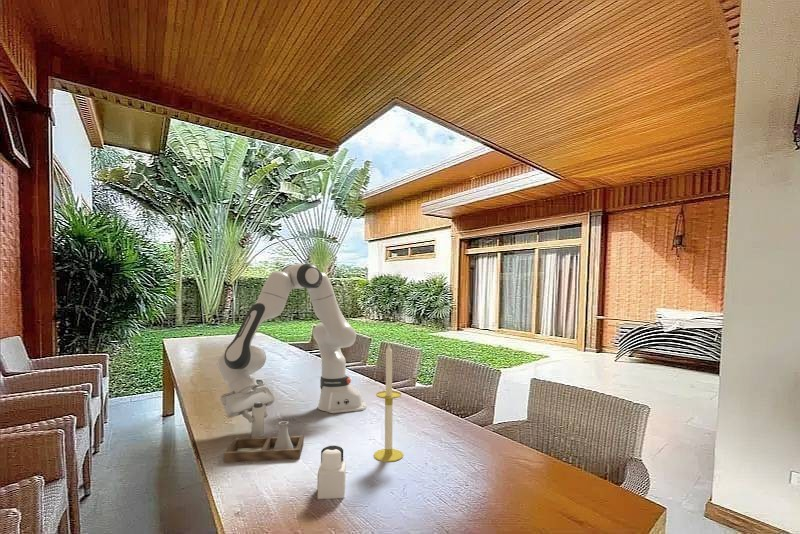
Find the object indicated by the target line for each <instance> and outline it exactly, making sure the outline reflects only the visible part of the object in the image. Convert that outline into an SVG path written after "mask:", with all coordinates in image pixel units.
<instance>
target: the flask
mask: <svg viewBox="0 0 800 534" xmlns="http://www.w3.org/2000/svg"><path fill="white" fill-rule="evenodd" d="M288 424H289V421H287V420H286V421H279V422H278V426H279V427H278V429H279V430H278V434H277V436H276V437H277V440H276V443H275V446H274V447H273V449H272V450H274V449H295V448H294V446H293V445H292V442H291V440H290V437H289V436H290V435H289V430H288Z"/></svg>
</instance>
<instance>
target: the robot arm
mask: <svg viewBox="0 0 800 534" xmlns="http://www.w3.org/2000/svg"><path fill="white" fill-rule="evenodd" d="M293 289H294V290H295V289H296V290H301V289H306V291H308V295H309V299H310V301H311V304H312V309H313V312H314V315H315V316H316V317H317V319H319V321H320V323H317V324H316V325H315V326H314V328H313V330H312V337H313V339H314V340H315V342H316V343H317V346H318V350H319V354H320V360H321V375H320V379H319V380H320V381H319V387H320V395H319V400H318V401H319V402H318V405H317V409H318V410H320V411H322V412H327V413H329V414H337V413H339V414H340V413H347V412H348V413H349V412H359V411H360V412H361V411H364V410H366V409H367V407H368V406H367V402H366V401H365V400H364V399H363V398H362V394H361V392H360V391H359V389H358V388H356V387H355V386H353V384H352V385H351V382H352V380H351V378H350V376H349V375H348V376H347V374H346V366H347V365H346V361H347V360H346V357H345V356H344V354H343V353H342V350H341V349H344V348H349V347H352V346H353V345H354V343H355V342H356V339H357V333H356V330H355V328H354V327H353V326H352V325H350V323H349V322H348V321H347V320H346V318H345V316H344V314H343V313H342V311H341V309H340V307H339V303H338V301H337V297H336V293H335V289H334V288H333V285H332V282H331V280H330V279H329V276H328V275H327V273H325V272H323V271H320V269H319V267H317V266H316V265H315V264H312V263H296V264H289V265H286V266H284V267H283V268H282V269H281V271H280V270H274V271H272V272H270V273H269V276H268V277H267V278H266V281H265V283H264V284H263V287H262V289H261V291H260V294H259V296H258V298H257V299H256V302H255V303H254V304H253V305H252V306H251V307H250V308H249V310H248V311H247V313H246V315H245V317H244V319H243V321H242V323H241V325H240V327H239V329H238V330H237V332H236V334H235V337H234V338H233V340H232V341H231V342H230V343H229V345H228V346H227V347H226V349H225V352H224V353H223V354H222V355H221V356H220V357H219V358H218V359H217V369H218V372H219V374H220V376H221V379H222V381H223V382H225V383H226V386H227V387H226V388H227V390H228V393H223V394H222V395H221V396H220V401H221V403H222V406H223V409H224V412H225V414H226V416H227V417H228V418H230V419H232V418H234V417H238V416H241V415H242V417H244V419H246V420H248V422H249V423H250V424H252V422H254V421H255V418H254V416H252V414H250V412H251V413H252V407H253V406H254V403H257V402H262V403H263V404H262V405H264V419H266V418H267V417H268V413H267V407H270V406H271V405H273V403H274V402H275V399H276V398H275V395H274V393H273V392H272V390H271V389H270V387H269V386H268V385H266V381H265V380H264V379H259V378H252V377H251V376H250V375H252V374H254V373H256V372H257V371H259V370H261V369H262V367H264V365H265V363H266V361H267V355H266V352H265V350H264V349H262V348H261V347H257V346H255V345H251V344H252V341H253V339H254V337H255V335H256V333H257V330H258V329H259V328H260V325H261V324H262V323H263V322H265V321H267V320H270V319H274V318H277V317H278V316H280V315H281V314H282V312H283V310H284V309H285V307H286V304H287V303H288V302H287V301H288V299H289V294H290V293H291V291H292V290H293Z"/></svg>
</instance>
